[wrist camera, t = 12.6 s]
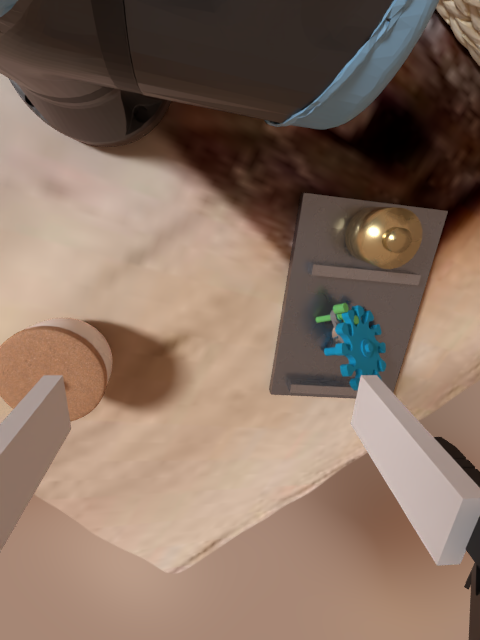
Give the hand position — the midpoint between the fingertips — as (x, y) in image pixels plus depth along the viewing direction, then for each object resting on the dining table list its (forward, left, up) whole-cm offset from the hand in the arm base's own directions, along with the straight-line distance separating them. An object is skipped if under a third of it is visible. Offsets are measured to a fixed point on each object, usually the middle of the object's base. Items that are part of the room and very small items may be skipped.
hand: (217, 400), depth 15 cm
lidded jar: (+10, -15, -26) cm, 32 cm away
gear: (+5, +17, -25) cm, 31 cm away
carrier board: (+2, +18, -26) cm, 31 cm away
